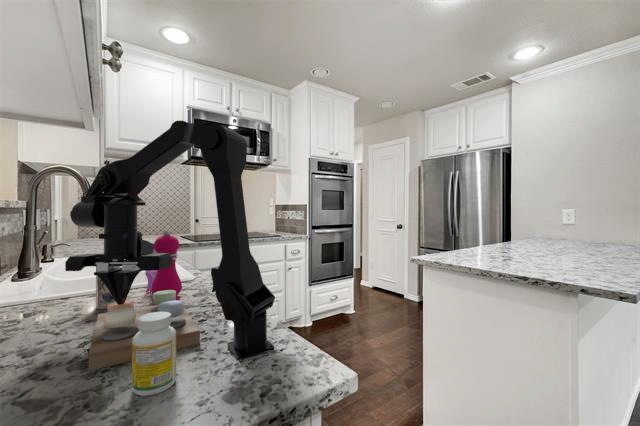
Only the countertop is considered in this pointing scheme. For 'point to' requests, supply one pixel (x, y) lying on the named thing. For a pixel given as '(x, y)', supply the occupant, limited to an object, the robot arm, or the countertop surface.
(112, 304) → the terracotta button
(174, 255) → the pepper mill
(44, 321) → the countertop surface
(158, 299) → the sage button
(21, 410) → the countertop surface
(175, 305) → the slate blue button
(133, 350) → the supplement bottle
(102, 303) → the beer can
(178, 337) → the wooden button board
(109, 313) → the cream button
